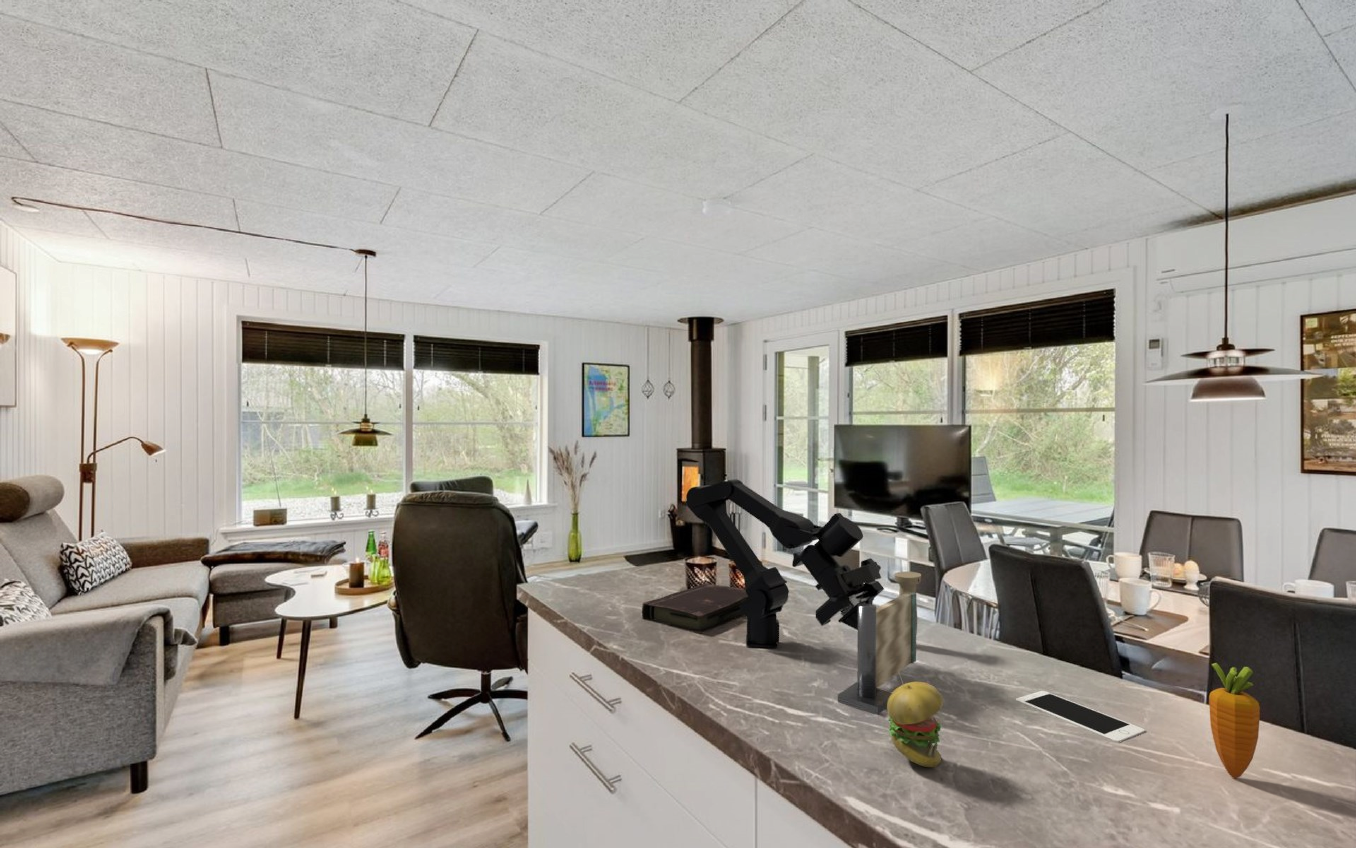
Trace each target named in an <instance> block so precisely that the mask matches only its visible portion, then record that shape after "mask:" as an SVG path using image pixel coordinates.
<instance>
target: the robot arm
mask: <svg viewBox="0 0 1356 848" xmlns="http://www.w3.org/2000/svg"><path fill="white" fill-rule="evenodd" d="M685 497H686V499H685V505H686V506H687V508H688V510H689V511H690V512H691V513H692V514H693V515H694V516H695V517H696V518H698V519H699V520H700V521H702V522H704V523H706V525H708V526H709V527H710V529H711V531H712V532H713V534H714V535H715V536H716V537H717V540H718V541H719V542H720V544H721V545H722V547H723V549H724V550H725V552H726V553H727V555H729V558H730V559H731V560H732V562H733V563H734V565H735V566H736V568H737V569H738V571H739V572H740V574H741V575H742V577H743V581H744V589H745V590H746V593H747V595H748V598H747V599H746V600H745V601H744V602H743V603H742V604H741V605H740V606H739V608H740V611H741V615H742V616H741V617H744V618H746V635H745V646H746V647H748V648H749V647H750V648H751V647H752V648H769V649H771V648H772V649H777V648H778V643H779V642H780V620H779V619H777V613H780V612H782V610H783V608H784V605H785V604H787V602H788V599H789V593H790V592H789V591H790V590H789V587H788V586H787V583H788V581H787V580H786V579H784V577H783V576H782V575H781V573H780V571H779V569H778V568H777V567H775V566H773V567H770V568H768V567H767V566H765V565H763V563H762V562H761V561H760V559H759V558H758V556H757V555H756V553H755V552H754V550H753V549H752V548H751V546H750V544H749V543H748V542H747V541H746V539H745V538H744V536H743V534H742V533H741V532H740V530H739V529H738V527H737V526H736V525H735V523H734V522H733V520H732V519H731V517H730V516H729V515H728V512H727V503H726V502H727V501H731V502H732V503H734V504H735V505H736V506H738V507H739V508H740V509H742V510H743V511H745V512H747V513H748V514H749V515H751V516H753V518H755V519H757V520H758V522H761V523H762V524H764V525H765V526H766V527H767V528H768V529H769V531H770V533H771V535H772V536H773V538H775V539H776V540H777V541H778V542H779V543H780V544H781V545H782V546H783V547H784V548H786V549H788V550H789V549H790V550H792V549H793V550H794V549H796V548H801V547H804V546H806V547H804V549H802V551H797V552H794V553H792V556H793V557H792V558H793V559H792V564H791V565H792V567H793V568H796V567H799V566H802V565H803V566H804V567H805V568H806V569H807V571H808V572H809V573H810V575H811V576H812V577H813V578H814V580H815V581H816V583H817V584H816V585H814V586H815V588H816V589H817V591H821V590H822V591H823V592H824V594H825V595H826V596H827V597H828V599H826V601H824V603H822V604H821V605H820V606H819V607H818V608H817V609H816V610H815V619H816V620H817V621H818V623H819V624H820V626H822V627H823V626H826V625H827V624H829V623H830V622H831V621H832V620H831V619H833V618H834V617H835V616H836V615H837V614H838V613H839V612H840V615H841V617H840V618H839V619H838V622H839V624H840V623H842V624H844V625H846V626H849V627H851V628H852V629H854V630H856V631H858V604H863V603H866V604H872V605H873V604H874V603H873V601H874V600H875V598H876V597H877V596H879V594H881V593H882V592H883V591H885V588H884V586H883V585H882V583H880V582H879V580H880V579H881V578H882V576H881V573H880V570H881V568H882V567H881V565H879V564H878V563H877V561H875V560H874V559H873V558H871V557H870V558H867V559H864V560H862V561H861V562H860V567H856V568H854V569H851V568H850V567H849V566H848V565H846V564H843V565H841V564H840V562H839V561H838V560H837V559H836V558H835V557H839V558H843V557H844V556H845V555H847V554H848V553H849V552H850V551H851V550H852V549H853V548H854V547H855V546H856V545H857V544H858V543H859V542H861V540H863V538H864V534H863V531H862V530H861V528H860V527H859V525H858V524H857V523H854V521H852V520H851V519H849V518H848V517H846V516H844V515H843V513H841V512H837V513H834V514H833V515H832V516H830V518H829V521H827V522H826V523H825V524H824V525H823V526H820V525H817V524H814V523H813V521H811V519H809V518H807V517H804V516H803V515H801V514H798V513H796V512H792V511H788V510H787V511H786V510H785V509H782V508H780V507H779V506H777V505H775V504H774V503H772V502H771V501H770V500H768V499H766V498H765V497H763V496H762V495H760V494H759V493H758V492H756V491H754V490H753V489H752V488H750V487H748V486H747V485H746V484H744V483H743V481H741V480H740V479H737V478H736V479H725V480H722V481H721V482H718V483H714V484H711V485H700V486H699V485H698V486H693V487H691V488H689V489H688V490H687V492H686V496H685ZM817 540H818V541H817ZM814 541H816V543H815V544H812V543H813V542H814Z"/></svg>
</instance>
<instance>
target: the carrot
mask: <svg viewBox="0 0 1356 848" xmlns="http://www.w3.org/2000/svg"><path fill="white" fill-rule="evenodd" d="M1211 667H1212V668H1213V669H1214V671H1216V674H1217V675H1218V677H1219V678H1220V681H1221V682H1222V684H1223V686H1224V687H1220V688H1219V687H1218V688H1216V689H1214V690H1212V691H1210V693H1209V698H1208V700H1209V701H1208V702H1209V705H1208V706H1209V716H1210V719H1209V721H1210V722H1209V723H1210V729H1211V732H1212V733H1211V734H1212V738H1213V742H1214V746H1215V750H1216V752H1217V755H1218V757H1219V760H1220V761H1221V763H1222V765H1223V767H1224V769H1225V771H1226V772H1227V773H1228V775H1229V776H1230V777H1231V778H1232V779H1234V780H1236V779H1238V778H1241V776H1242V775H1243V774H1244V773H1245V772H1246V770H1247V769H1249V766H1250V764H1251V763H1252V761H1253V758H1254V755H1255V752H1256V748H1257V744H1258V739H1259V731H1260V718H1261V717H1260V716H1261V715H1260V714H1261V713H1260V711H1261V707H1260V703H1259V701H1258V700H1256V698H1254V697H1253V696H1251V695H1250V694H1249V693H1247V692H1245V690H1247V689H1249V688H1251V687H1253V686H1254V684H1253V682H1250V681H1248V680H1249V678H1250V677H1251V675H1252V674H1253V673H1254V672H1253V670H1252V669H1251V668H1249V666H1243V667H1242V669H1241V670H1240V672H1237V670H1238V668H1236V667H1235V666H1234V667H1233V666H1232V667H1231V668H1230V669H1229V672H1228V674H1227V675H1226V674H1225V672H1224V671H1223V669H1222V668H1221V666H1220V665H1219V663H1217V662H1215V663H1211ZM1237 674H1238V675H1237Z"/></svg>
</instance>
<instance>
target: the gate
mask: <svg viewBox="0 0 1356 848" xmlns="http://www.w3.org/2000/svg"><path fill="white" fill-rule="evenodd" d="M916 603H917V592H916V593H913V592H905V593H903V595H901V596H899V595H898V596H897V597H894V598H893V599H891V600H889V601H887V602H885V603H883V604H881V605H880V606H879V605H878V606H876V689H877V688H878V689H879V687H881V685H883V684H885V683H886V682H887V681H889V680H890V679H892V678H893V677H894V676H896V675H897V674H899V673H900V672H901V671H902V670H904V669H905V668H907V667H908V666H909V665H912V664H914V663H916V662H917V635H916Z"/></svg>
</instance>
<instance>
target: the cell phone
mask: <svg viewBox="0 0 1356 848" xmlns="http://www.w3.org/2000/svg"><path fill="white" fill-rule="evenodd" d="M1015 700H1016V701H1017V702H1019V703H1021V704H1024V705H1026V706H1028V707H1031V708H1034V709H1035V710H1038V711H1040V712H1043V713H1046V714H1047V715H1049V716H1052V717H1055V718H1057V719H1059V720H1062V719H1063V720H1062V721H1064V722H1066V723H1069V722H1070V723H1069V724H1072V725H1074V726H1076V727H1078V728H1081V729H1084V730H1086V731H1088V732H1091V733H1093V734H1095V735H1099V736H1100V737H1103V738H1106V739H1108V740H1110V741H1113V742H1116V743H1121V742H1123V741H1126V740H1129V739H1131V738H1133V737H1136V736H1139V735H1141V734H1143V733H1145V732H1146V729H1144V728H1143V727H1139V726H1137V725H1134V724H1132V723H1130V722H1128V721H1127V722H1126V721H1124V720H1122V719H1119V718H1117V717H1114V716H1111V715H1109V714H1106V713H1103V712H1101V711H1098V710H1096V709H1092V708H1091V707H1088V706H1085V705H1083V704H1080V703H1078V702H1074V701H1072V700H1069V699H1066V698H1064V697H1061V696H1059V695H1056V694H1054V693H1051V692H1049V691H1046V690H1040V691H1036V692H1034V693H1029V694H1026V695H1023V696H1020V697H1017V698H1015ZM1138 734H1139V735H1138ZM1120 741H1121V742H1120Z"/></svg>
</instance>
